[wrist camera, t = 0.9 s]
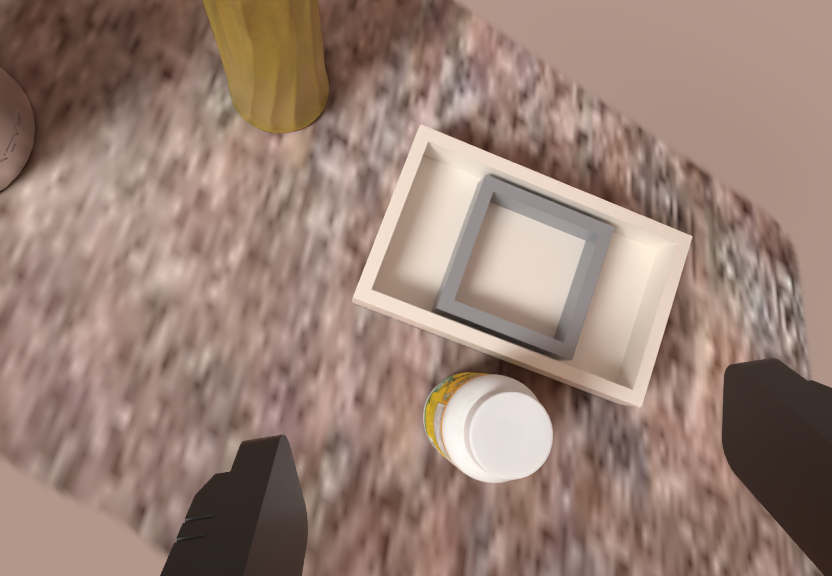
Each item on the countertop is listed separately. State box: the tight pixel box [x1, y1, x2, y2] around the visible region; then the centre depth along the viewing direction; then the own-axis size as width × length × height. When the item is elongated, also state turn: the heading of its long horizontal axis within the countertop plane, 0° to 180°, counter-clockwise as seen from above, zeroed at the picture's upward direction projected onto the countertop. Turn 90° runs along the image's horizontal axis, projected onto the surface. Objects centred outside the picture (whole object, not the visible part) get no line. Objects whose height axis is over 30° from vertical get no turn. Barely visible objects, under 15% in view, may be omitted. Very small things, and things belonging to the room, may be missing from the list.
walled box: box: [351, 124, 693, 408], centre depth 37 cm, size 18×11×3 cm, turn 69°
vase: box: [202, 0, 329, 133], centre depth 31 cm, size 6×6×14 cm
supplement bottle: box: [423, 372, 553, 483], centre depth 32 cm, size 5×5×10 cm
